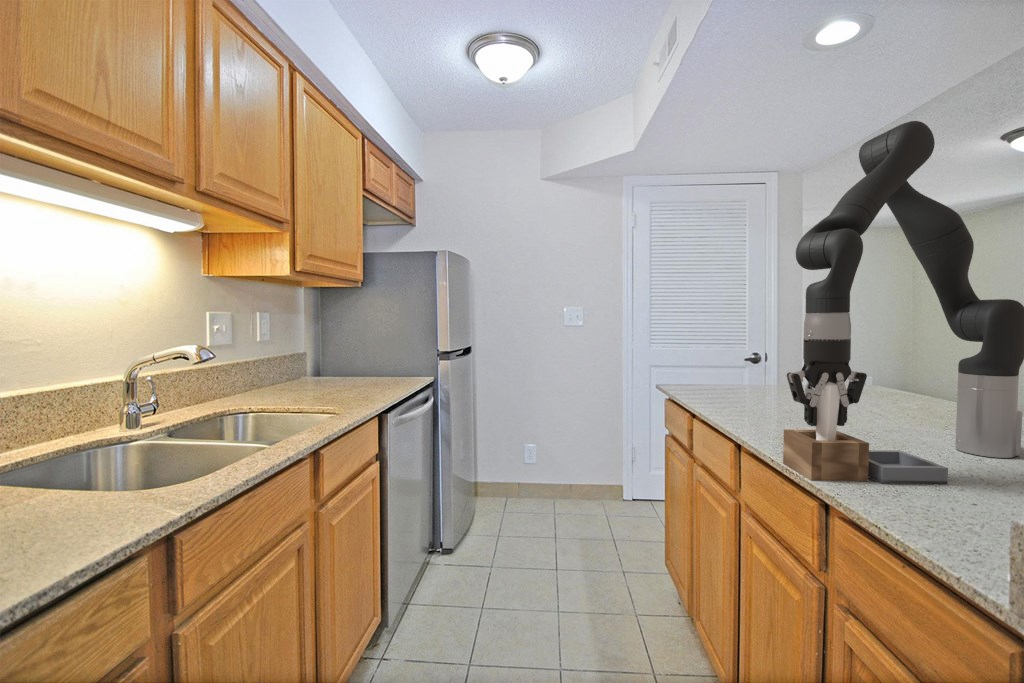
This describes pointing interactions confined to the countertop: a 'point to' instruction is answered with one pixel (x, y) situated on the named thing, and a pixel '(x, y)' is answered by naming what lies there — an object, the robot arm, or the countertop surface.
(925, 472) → the tray
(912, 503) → the countertop surface
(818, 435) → the perfume bottle
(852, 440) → the wooden cubby box
